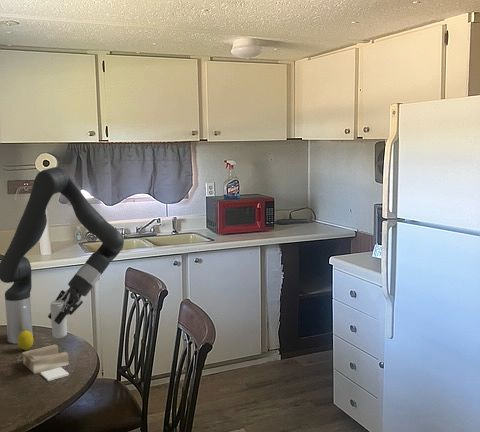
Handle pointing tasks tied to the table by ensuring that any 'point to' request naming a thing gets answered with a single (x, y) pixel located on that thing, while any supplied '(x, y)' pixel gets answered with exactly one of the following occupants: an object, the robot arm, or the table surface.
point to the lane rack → (44, 359)
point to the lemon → (25, 340)
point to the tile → (54, 373)
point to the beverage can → (56, 308)
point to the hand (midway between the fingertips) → (53, 320)
